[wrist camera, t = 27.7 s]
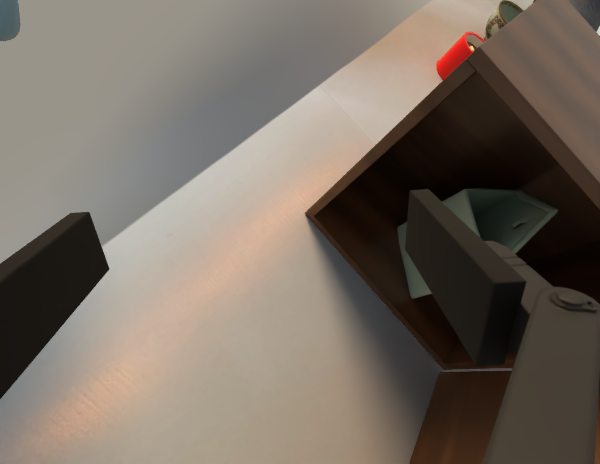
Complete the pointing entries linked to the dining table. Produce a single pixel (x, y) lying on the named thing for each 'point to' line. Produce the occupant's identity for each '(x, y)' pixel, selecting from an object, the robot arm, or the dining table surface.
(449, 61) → the mug
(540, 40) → the cupboard
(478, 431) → the cupboard door
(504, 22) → the bowl
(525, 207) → the planter
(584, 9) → the pitcher
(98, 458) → the dining table surface
